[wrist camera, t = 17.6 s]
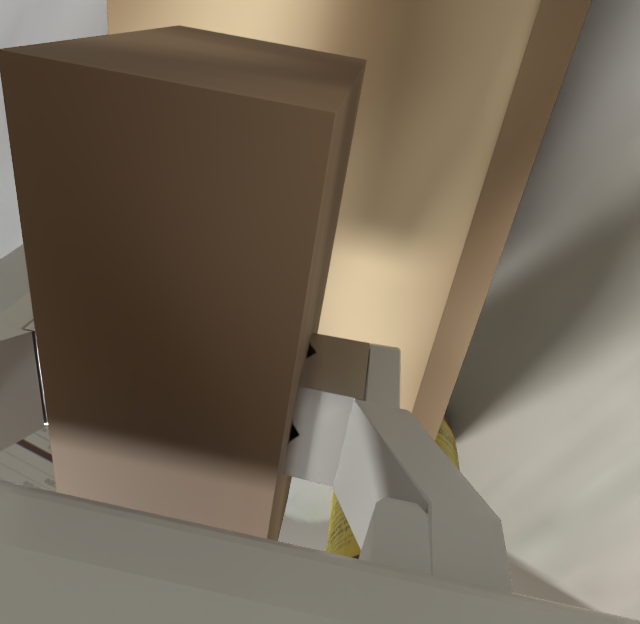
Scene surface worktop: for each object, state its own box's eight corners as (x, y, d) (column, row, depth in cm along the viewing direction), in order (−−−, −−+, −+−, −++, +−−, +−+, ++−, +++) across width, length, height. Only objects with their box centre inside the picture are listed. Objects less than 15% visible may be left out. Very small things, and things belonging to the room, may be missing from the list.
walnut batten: (366, 60, 9) (335, 113, 5) (288, 495, 14) (241, 693, 10) (179, 25, 9) (-3, 49, 5) (170, 470, 14) (78, 656, 10)
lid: (625, -124, 11) (638, -132, 11) (425, 451, 20) (425, 469, 19) (116, -201, 12) (94, -214, 12) (134, 377, 21) (122, 392, 20)
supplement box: (74, 202, 27) (-314, 446, 13) (236, 301, 28) (55, 619, 14) (23, 334, 32) (-301, 620, 17) (165, 413, 33) (-25, 736, 19)
